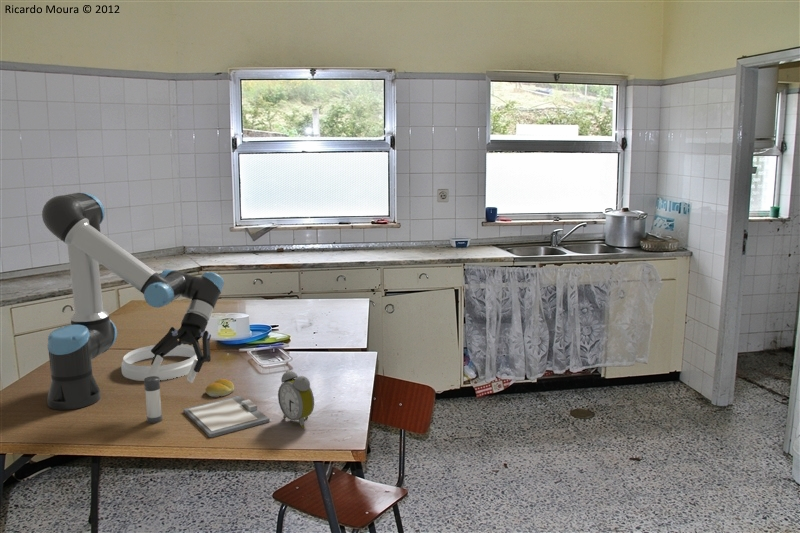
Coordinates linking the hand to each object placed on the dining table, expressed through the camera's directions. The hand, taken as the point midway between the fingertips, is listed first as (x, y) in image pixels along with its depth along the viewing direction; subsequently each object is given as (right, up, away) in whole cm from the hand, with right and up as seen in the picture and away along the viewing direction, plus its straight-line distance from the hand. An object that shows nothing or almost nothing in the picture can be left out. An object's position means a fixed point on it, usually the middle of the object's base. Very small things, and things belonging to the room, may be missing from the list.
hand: (170, 378), depth 197 cm
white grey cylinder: (-3, -12, -3) cm, 13 cm away
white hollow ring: (-18, -4, +42) cm, 46 cm away
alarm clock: (+39, -12, -3) cm, 41 cm away
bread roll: (+10, -8, +19) cm, 23 cm away
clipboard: (+17, -11, 0) cm, 20 cm away
